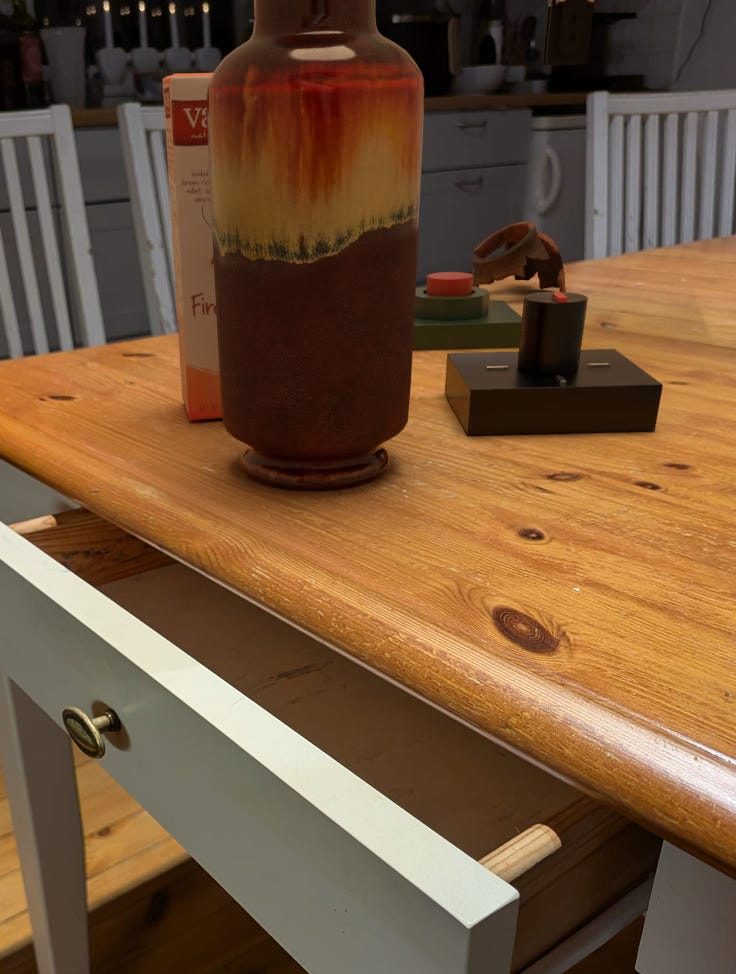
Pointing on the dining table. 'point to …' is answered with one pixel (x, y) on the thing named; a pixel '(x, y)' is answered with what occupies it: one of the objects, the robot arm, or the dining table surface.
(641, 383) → the dial console
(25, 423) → the dining table surface
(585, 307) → the browning dial
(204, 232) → the cracker box
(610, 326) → the dining table surface
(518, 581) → the dining table surface
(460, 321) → the block
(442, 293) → the button
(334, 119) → the vase
